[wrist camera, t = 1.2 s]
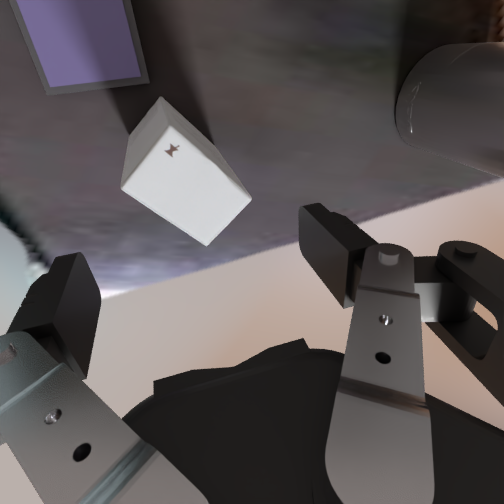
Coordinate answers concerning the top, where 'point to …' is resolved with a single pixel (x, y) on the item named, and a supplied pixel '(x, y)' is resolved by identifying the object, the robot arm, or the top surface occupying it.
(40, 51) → the ink pad
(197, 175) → the skincare box
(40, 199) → the top surface
